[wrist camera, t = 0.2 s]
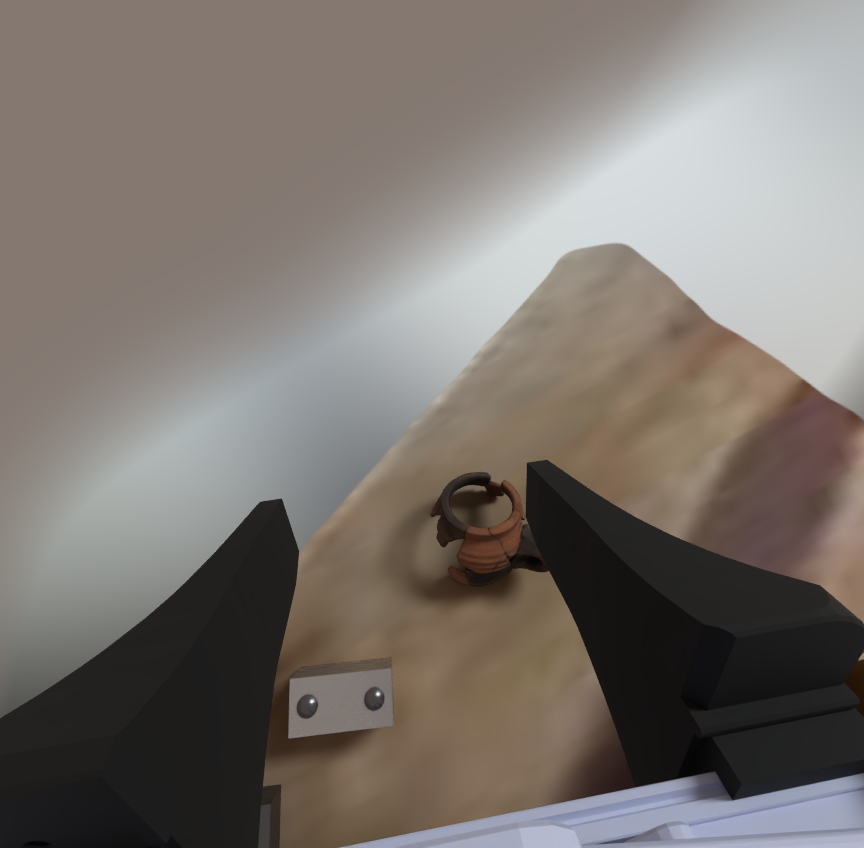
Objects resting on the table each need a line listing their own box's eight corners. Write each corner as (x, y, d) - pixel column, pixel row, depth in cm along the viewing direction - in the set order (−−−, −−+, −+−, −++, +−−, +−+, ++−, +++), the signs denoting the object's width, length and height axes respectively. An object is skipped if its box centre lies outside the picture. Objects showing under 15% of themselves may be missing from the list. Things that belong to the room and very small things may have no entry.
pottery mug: (418, 576, 41) (415, 526, 36) (449, 503, 48) (451, 452, 42) (541, 621, 38) (559, 573, 32) (557, 536, 45) (574, 485, 39)
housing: (391, 656, 39) (390, 668, 34) (393, 707, 37) (393, 726, 33) (301, 666, 38) (289, 679, 33) (301, 718, 36) (287, 739, 32)
